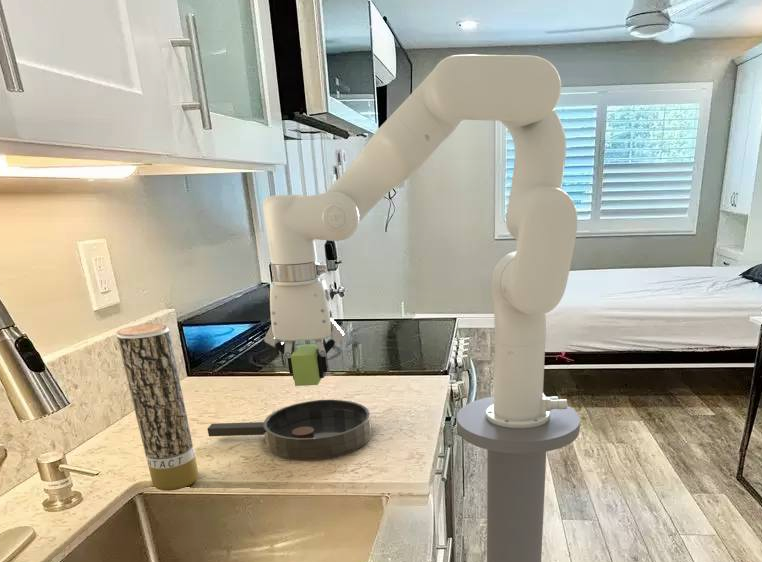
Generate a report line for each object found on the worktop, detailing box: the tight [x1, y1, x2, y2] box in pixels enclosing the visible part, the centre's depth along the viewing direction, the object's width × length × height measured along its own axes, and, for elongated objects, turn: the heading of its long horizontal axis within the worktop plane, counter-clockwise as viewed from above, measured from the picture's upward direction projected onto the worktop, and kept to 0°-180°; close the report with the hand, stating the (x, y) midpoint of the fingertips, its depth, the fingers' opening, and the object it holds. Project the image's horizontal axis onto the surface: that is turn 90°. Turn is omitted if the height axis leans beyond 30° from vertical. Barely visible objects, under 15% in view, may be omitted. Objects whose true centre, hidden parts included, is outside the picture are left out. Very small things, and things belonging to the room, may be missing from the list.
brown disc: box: [292, 427, 314, 438], centre depth 106 cm, size 4×4×1 cm
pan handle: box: [207, 421, 265, 437], centre depth 106 cm, size 10×2×2 cm, turn 91°
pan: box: [263, 399, 373, 461], centre depth 106 cm, size 19×19×4 cm
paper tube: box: [116, 323, 199, 492], centre depth 87 cm, size 7×7×25 cm
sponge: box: [291, 343, 322, 387], centre depth 102 cm, size 4×7×6 cm, turn 2°
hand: (309, 375), depth 103 cm, fingers closed on sponge, 4 cm apart
